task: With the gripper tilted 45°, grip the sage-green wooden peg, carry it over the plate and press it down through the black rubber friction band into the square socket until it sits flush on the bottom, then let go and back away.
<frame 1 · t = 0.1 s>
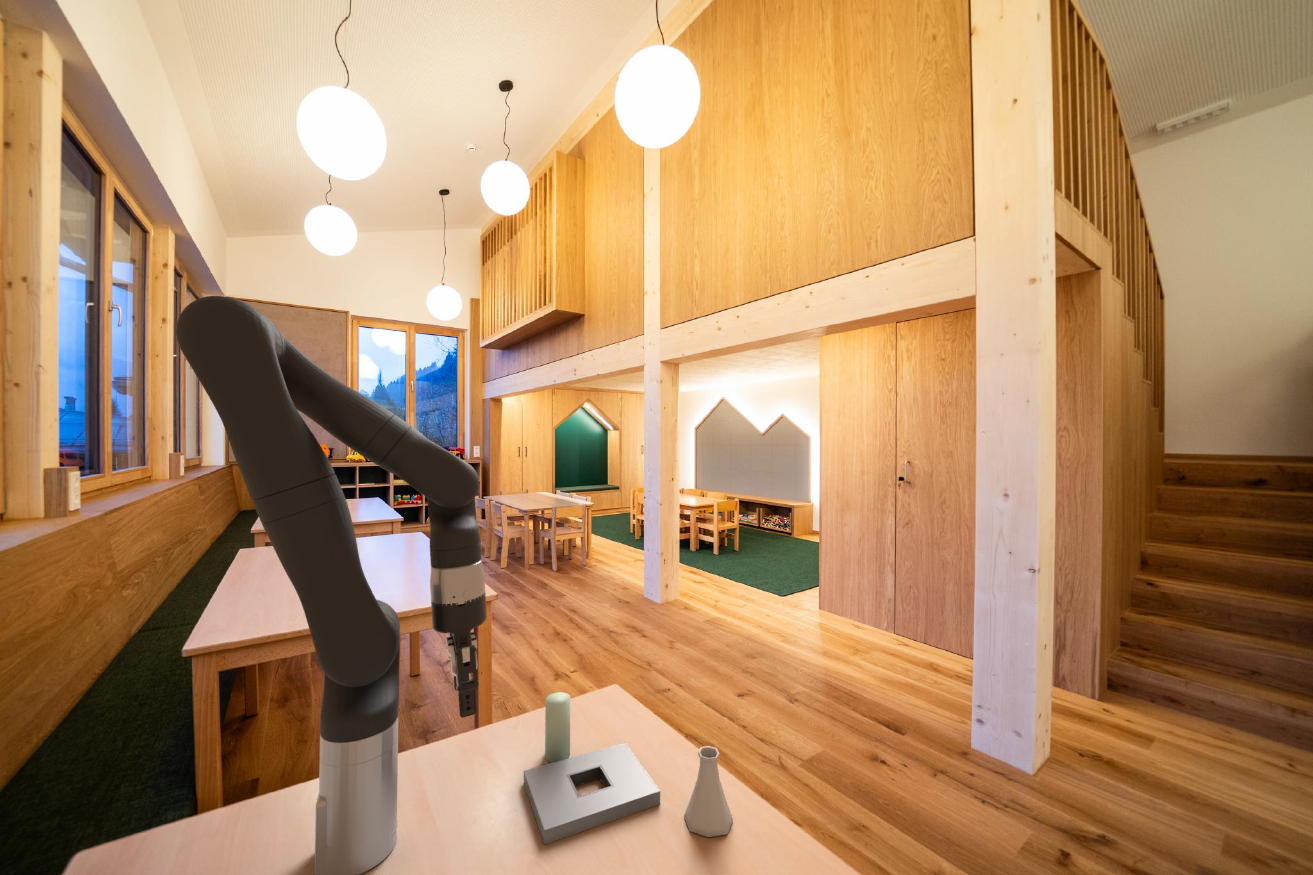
hand: (465, 701, 74), 17 cm above the table, tool pointing down, fingers open, 8 cm apart
flask: (708, 821, 74), on the table
peg: (557, 754, 89), on the table
socket plate: (589, 793, 79), on the table
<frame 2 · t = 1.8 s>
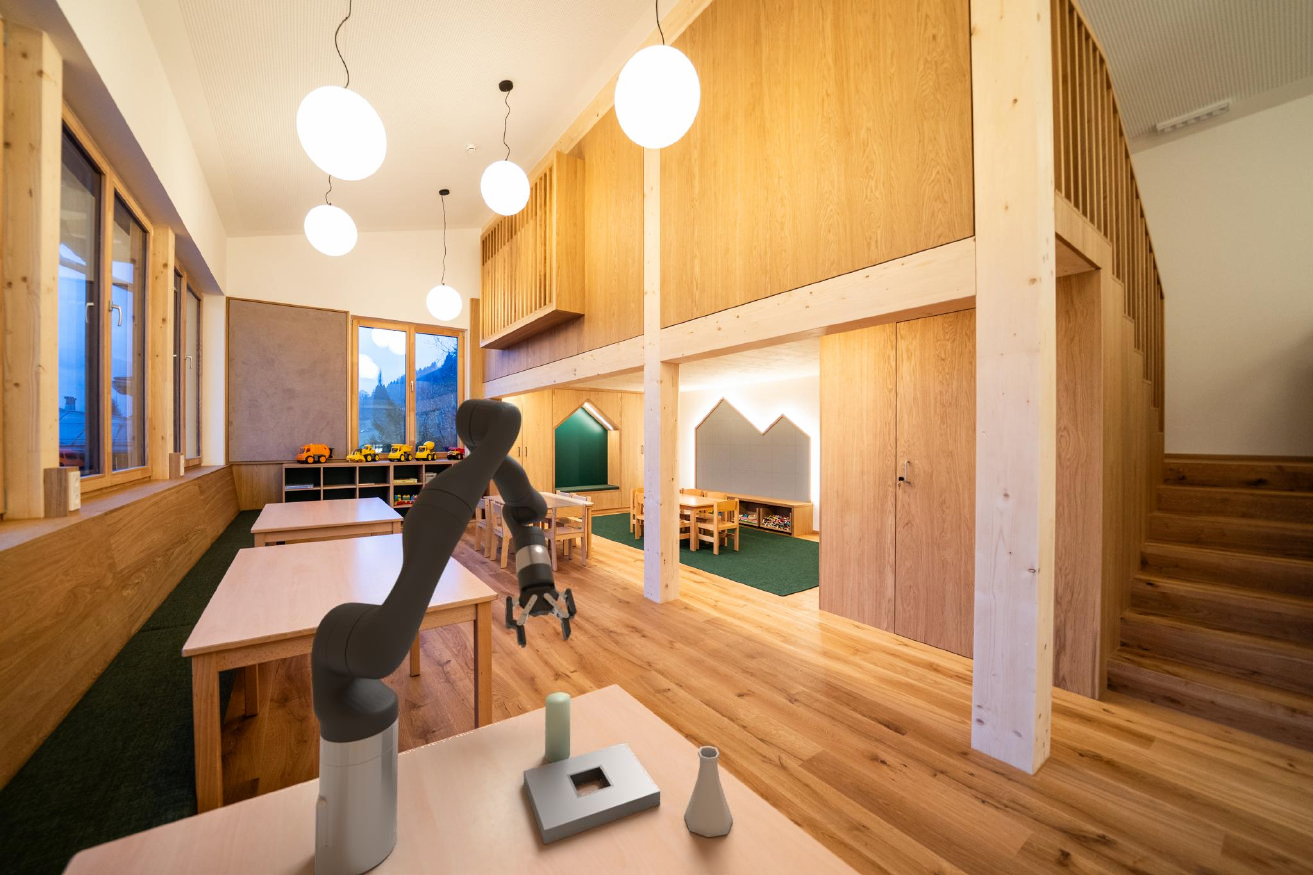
hand: (545, 642, 100), 16 cm above the table, tool tilted 45°, fingers open, 8 cm apart
nothing on the table moved.
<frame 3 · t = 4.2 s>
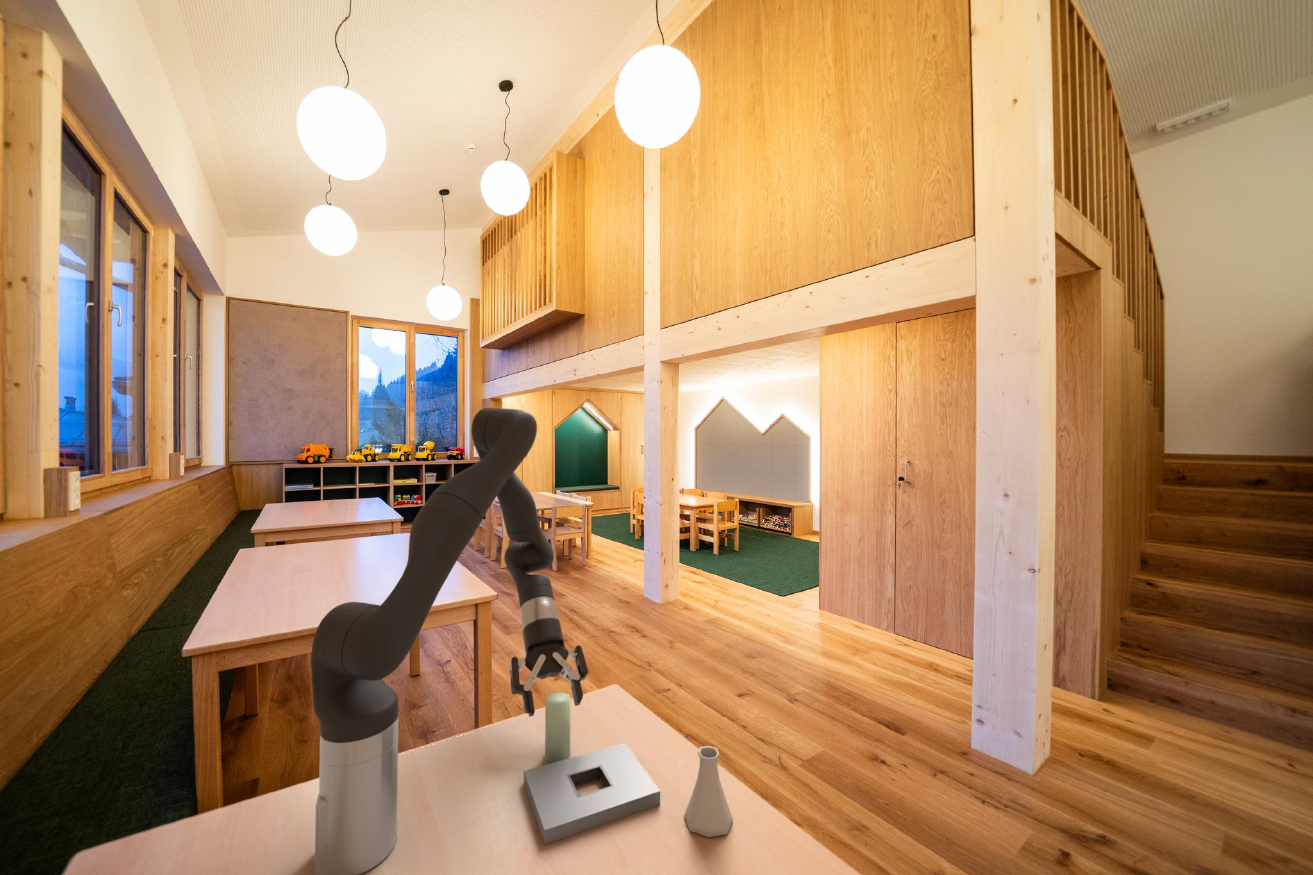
hand: (555, 709, 91), 7 cm above the table, tool tilted 45°, fingers open, 8 cm apart
nothing on the table moved.
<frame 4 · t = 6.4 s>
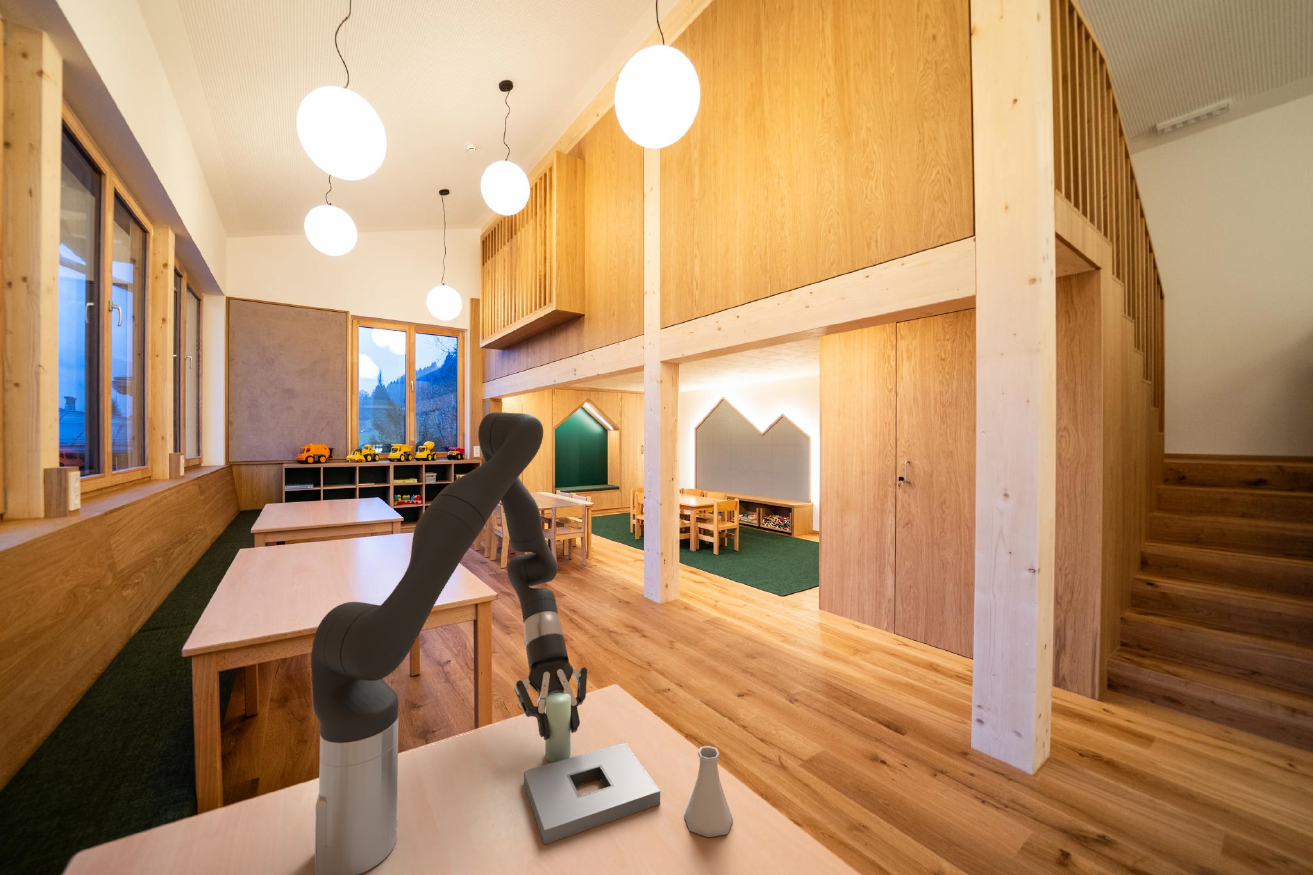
hand: (561, 734, 87), 5 cm above the table, tool tilted 45°, fingers closed on peg, 4 cm apart
peg: (557, 754, 89), on the table, touching gripper
everything else where it was.
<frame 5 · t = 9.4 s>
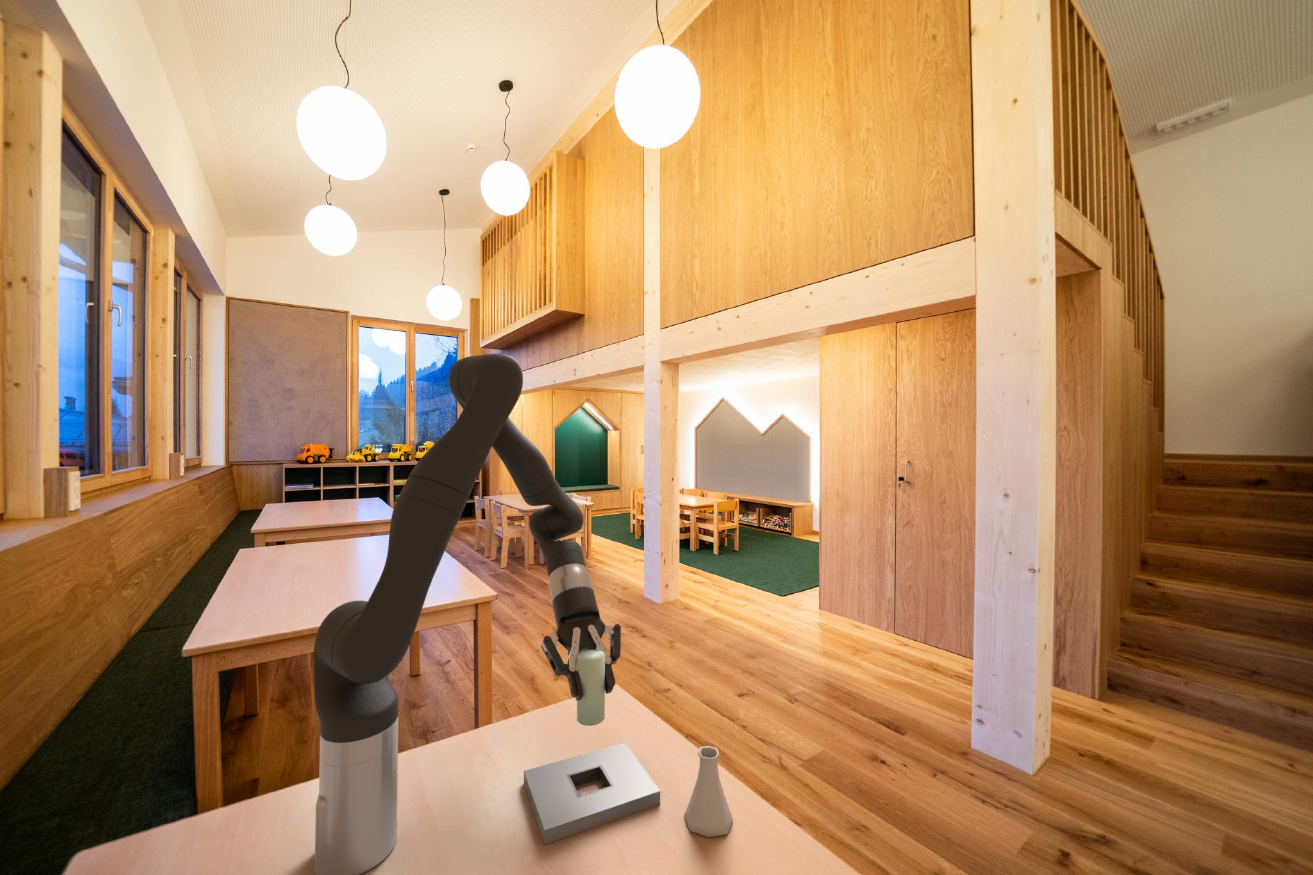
hand: (595, 694, 78), 16 cm above the table, tool tilted 45°, fingers closed on peg, 4 cm apart
peg: (590, 717, 80), point 12 cm above the table, touching gripper
everything else where it was.
when the fingers open (5 cm above the table, at t = 12.5 s): peg stays where it is, resting in socket plate.
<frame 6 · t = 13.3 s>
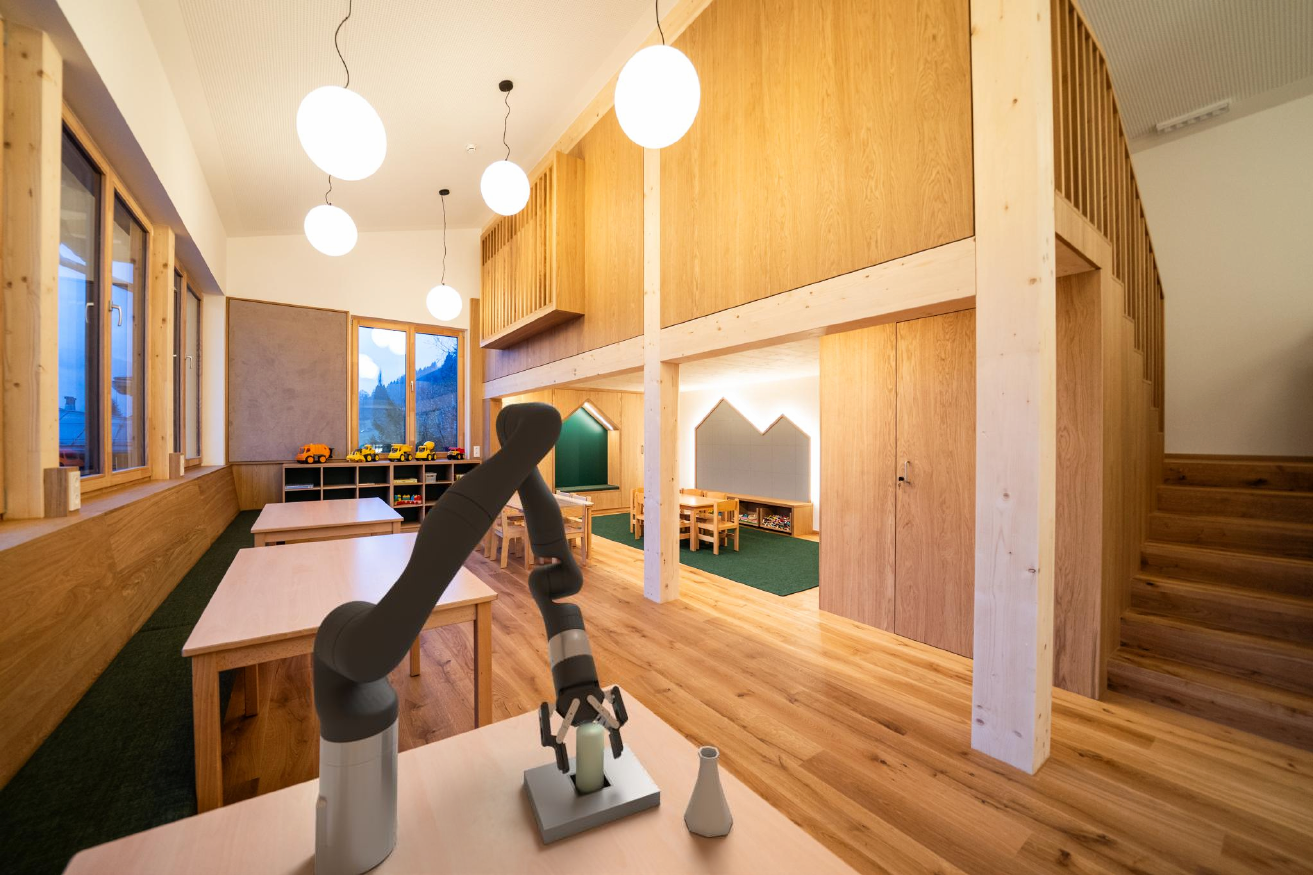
hand: (593, 764, 78), 5 cm above the table, tool tilted 45°, fingers open, 8 cm apart
peg: (589, 793, 79), resting in socket plate
everything else where it was.
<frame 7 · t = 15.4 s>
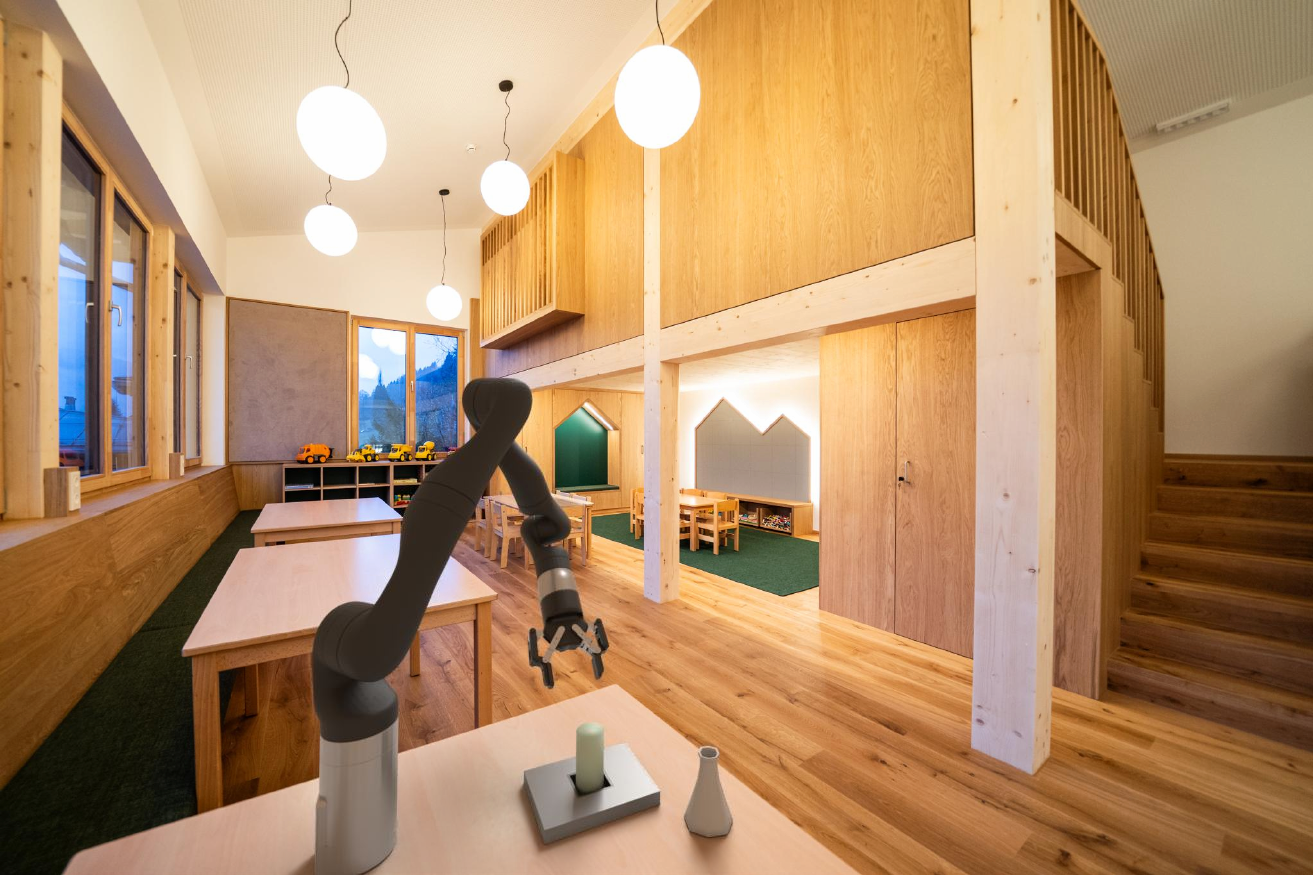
hand: (575, 682, 86), 14 cm above the table, tool tilted 45°, fingers open, 8 cm apart
nothing on the table moved.
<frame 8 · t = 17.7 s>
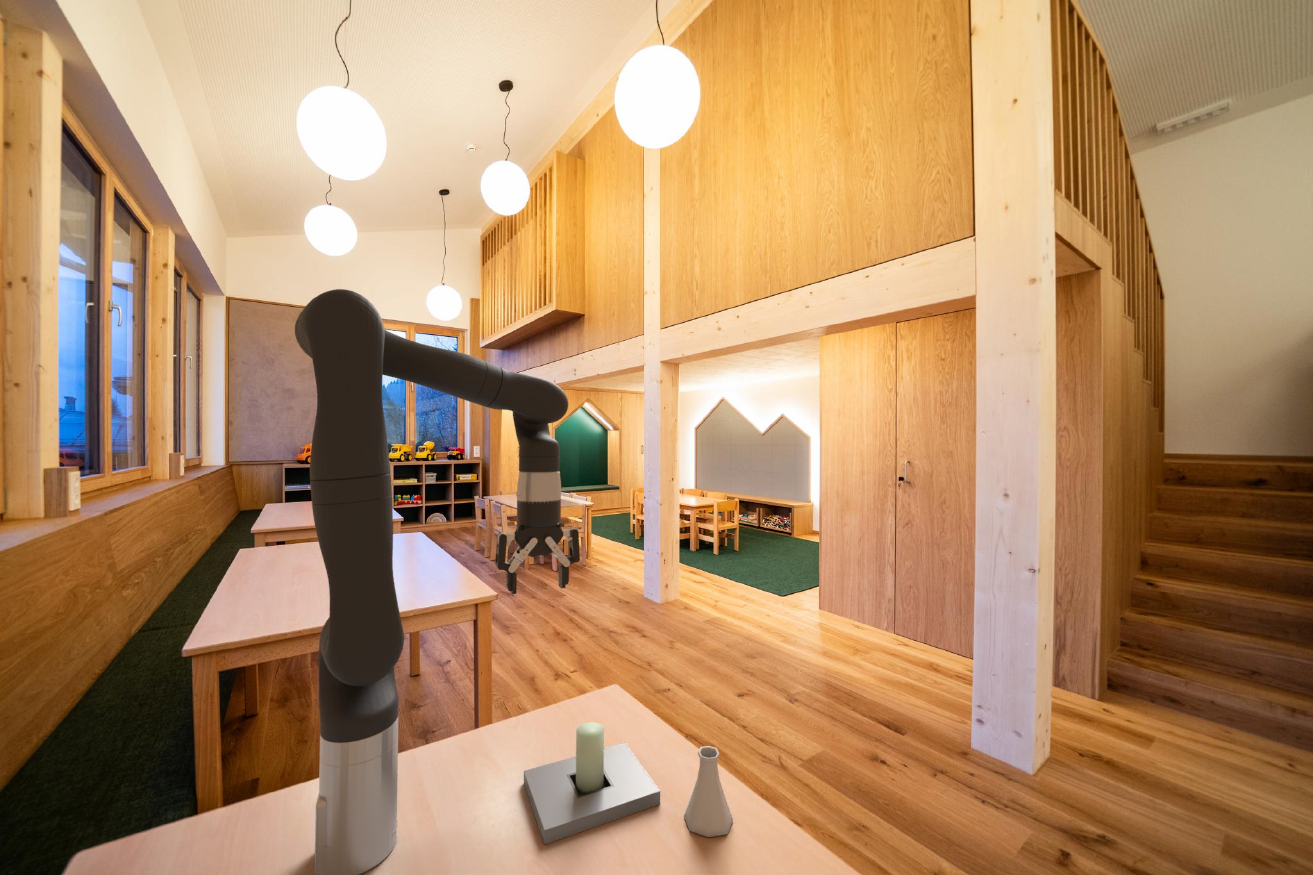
hand: (538, 590, 87), 30 cm above the table, tool pointing down, fingers open, 8 cm apart
nothing on the table moved.
at the end: peg 0.1 cm off-centre on the socket plate, point 0.0 cm above the socket plate's base; peg tilted 0°; the gripper is holding nothing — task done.
